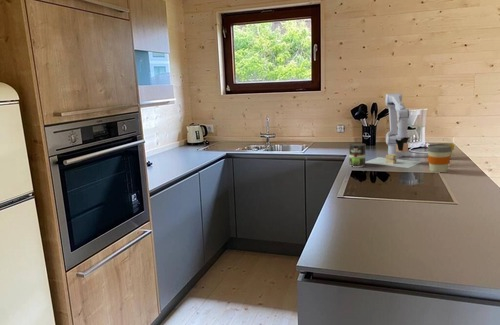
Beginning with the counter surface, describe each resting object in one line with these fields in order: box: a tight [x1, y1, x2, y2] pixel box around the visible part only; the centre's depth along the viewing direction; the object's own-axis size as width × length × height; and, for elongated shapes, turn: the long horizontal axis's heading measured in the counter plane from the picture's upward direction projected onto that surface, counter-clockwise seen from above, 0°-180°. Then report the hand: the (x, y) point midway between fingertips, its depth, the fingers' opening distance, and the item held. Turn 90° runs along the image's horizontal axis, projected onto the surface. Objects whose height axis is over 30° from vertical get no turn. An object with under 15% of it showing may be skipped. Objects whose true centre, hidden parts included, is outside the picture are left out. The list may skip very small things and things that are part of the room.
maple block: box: [385, 153, 398, 164], centre depth 247 cm, size 5×5×5 cm
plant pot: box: [438, 142, 455, 156], centre depth 252 cm, size 10×10×10 cm
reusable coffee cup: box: [427, 143, 452, 173], centre depth 221 cm, size 13×13×15 cm
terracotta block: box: [396, 142, 409, 153], centre depth 243 cm, size 5×5×5 cm
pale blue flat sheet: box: [365, 156, 422, 169], centre depth 249 cm, size 20×30×1 cm, turn 44°
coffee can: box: [348, 142, 367, 168], centre depth 246 cm, size 10×10×14 cm
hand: (401, 149), depth 243 cm, fingers closed on terracotta block, 6 cm apart
